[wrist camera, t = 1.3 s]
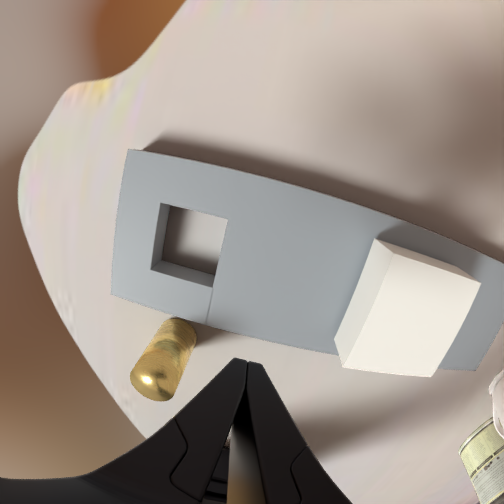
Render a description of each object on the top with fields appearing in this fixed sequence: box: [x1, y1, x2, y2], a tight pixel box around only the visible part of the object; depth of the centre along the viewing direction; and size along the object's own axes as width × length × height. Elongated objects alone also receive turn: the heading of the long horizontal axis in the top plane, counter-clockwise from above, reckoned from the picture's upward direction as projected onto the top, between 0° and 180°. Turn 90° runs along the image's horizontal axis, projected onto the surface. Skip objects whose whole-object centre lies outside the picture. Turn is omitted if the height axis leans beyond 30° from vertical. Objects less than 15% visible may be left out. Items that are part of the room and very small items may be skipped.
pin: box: [130, 318, 197, 401], centre depth 18 cm, size 3×3×6 cm
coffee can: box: [458, 417, 504, 504], centre depth 18 cm, size 10×10×14 cm
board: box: [111, 149, 504, 371], centre depth 18 cm, size 10×32×2 cm, turn 76°
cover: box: [334, 238, 481, 377], centre depth 15 cm, size 7×7×3 cm
